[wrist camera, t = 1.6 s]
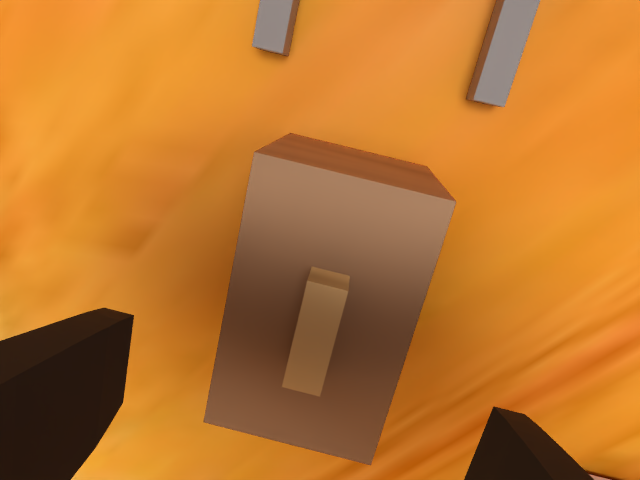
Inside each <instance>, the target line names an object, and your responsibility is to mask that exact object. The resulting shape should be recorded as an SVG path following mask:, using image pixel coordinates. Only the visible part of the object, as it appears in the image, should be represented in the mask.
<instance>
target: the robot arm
mask: <svg viewBox="0 0 640 480" xmlns="http://www.w3.org/2000/svg"><path fill="white" fill-rule="evenodd" d="M133 319H134V315H131V314H127V313H123V312H119V311H115V310H111V309H107V308H101V309H97V310H93V311H89V312H86V313H83V314H80V315H77V316H74V317H71V318H68V319H65V320H62V321H59V322H56V323H53V324H50V325H47V326H44V327H41V328H38V329H35V330H32V331H29V332H26V333H23V334H20V335H17V336H14V337H11V338H8V339H5V340H2V341H0V480H71V478H72V477H73V476H74V475H75V473H76V472H77V471H78V470H79V468H80V467H81V466H82V464H83V463H84V462H85V461H86V459H87V458H88V457H89V455H90V454H91V453H92V451H93V450H94V449H95V448H96V446H97V444H98V443H99V441H100V440H101V438H102V436H103V435H104V433H105V432H106V430H107V428H108V427H109V425H110V423H111V422H112V420H113V418H114V417H115V415H116V413H117V412H118V410H119V408H120V407H121V405H122V403H123V398H124V390H125V382H126V374H127V366H128V358H129V350H130V342H131V334H132V327H133ZM464 480H610V479H606V478H602V477H598V476H594V475H590V474H588V473H587V472H586V471H585V470H584V469H583V468H582V467H581V466H580V465H579V464H578V463H577V462H576V461H575V460H574V459H573V458H572V457H571V456H570V455H568V454H567V453H566V452H565V451H564V450H563V449H562V448H561V447H560V446H559V445H558V444H557V443H556V442H555V441H554V440H553V439H552V438H551V437H550V436H549V435H548V434H547V433H546V432H545V431H543V430H542V429H541V428H540V427H539V426H538V425H537V424H536V423H535V422H533V421H532V420H531V419H530V418H529V417H527V416H526V415H525V414H521V413H517V412H513V411H509V410H505V409H501V408H497V407H493V409H492V412H491V414H490V417H489V419H488V422H487V424H486V427H485V429H484V432H483V434H482V437H481V439H480V442H479V444H478V447H477V449H476V452H475V454H474V456H473V459H472V461H471V464H470V466H469V469H468V471H467V474H466V476H465V479H464Z"/></svg>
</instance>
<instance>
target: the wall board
mask: <svg viewBox="0 0 640 480" xmlns="http://www.w3.org/2000/svg"><path fill="white" fill-rule="evenodd" d="M539 2H540V0H496V4H495V7H494V10H493V13H492V16H491V20H490V23H489V26H488V29H487V33H486V36H485V39H484V42H483V45H482V49H481V52H480V55H479V58H478V62H477V65H476V68H475V71H474V74H473V78H472V81H471V84H470V87H469V91H468V94H467V97H466V99H467V100H471V101H476V102H480V103H484V104H488V105H492V106H498V107H505V104H506V101H507V98H508V95H509V92H510V89H511V86H512V83H513V80H514V77H515V74H516V71H517V68H518V65H519V62H520V59H521V56H522V53H523V50H524V47H525V44H526V41H527V38H528V35H529V32H530V29H531V26H532V23H533V20H534V17H535V14H536V11H537V8H538V5H539ZM298 5H299V0H260V4H259V10H258V15H257V21H256V27H255V33H254V38H253V44H252V46H253V47H255V48H258V49H260V50H264V51H269V52H273V53H277V54H281V55H285V56H289V50H290V45H291V40H292V35H293V30H294V25H295V20H296V15H297V10H298Z"/></svg>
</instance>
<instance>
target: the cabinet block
mask: <svg viewBox="0 0 640 480" xmlns="http://www.w3.org/2000/svg"><path fill="white" fill-rule="evenodd" d="M455 204H456V201H455V199H454V198H453V197H452V196H451V195H450V193H449V192H448V191H447V190H446V189H445V188H444V186H443V185H442V184H441V183H440V182H439V180H438V179H437V178H436V177H435V176H434V174H433V173H432V172H431V171H430V170H429V168H428V167H427V166H423V165H419V164H415V163H411V162H406V161H402V160H398V159H394V158H390V157H386V156H382V155H378V154H374V153H370V152H366V151H361V150H357V149H353V148H349V147H345V146H341V145H337V144H333V143H329V142H325V141H321V140H316V139H312V138H308V137H304V136H300V135H296V134H292V133H290V134H288V135H286V136H284V137H282V138H280V139H278V140H276V141H274V142H272V143H271V144H269V145H267V146H265V147H263V148H261V149H259V150H257V151H255V152H254V156H253V161H252V166H251V172H250V177H249V182H248V188H247V193H246V198H245V204H244V209H243V214H242V220H241V225H240V230H239V236H238V241H237V246H236V252H235V257H234V262H233V268H232V273H231V278H230V284H229V289H228V294H227V300H226V305H225V310H224V316H223V321H222V326H221V332H220V337H219V342H218V348H217V353H216V358H215V364H214V369H213V374H212V380H211V385H210V390H209V396H208V401H207V406H206V412H205V417H204V422H205V423H209V424H213V425H217V426H220V427H224V428H228V429H232V430H236V431H240V432H244V433H248V434H251V435H255V436H259V437H263V438H267V439H271V440H275V441H279V442H283V443H286V444H290V445H294V446H298V447H302V448H306V449H310V450H314V451H317V452H321V453H325V454H329V455H333V456H337V457H341V458H345V459H349V460H352V461H356V462H360V463H364V464H368V465H371V463H372V460H373V457H374V454H375V451H376V448H377V445H378V442H379V438H380V435H381V432H382V429H383V426H384V423H385V420H386V417H387V414H388V411H389V408H390V405H391V401H392V398H393V395H394V392H395V389H396V386H397V383H398V380H399V377H400V374H401V371H402V368H403V365H404V361H405V358H406V355H407V352H408V349H409V346H410V343H411V340H412V337H413V334H414V331H415V328H416V324H417V321H418V318H419V315H420V312H421V309H422V306H423V303H424V300H425V297H426V294H427V291H428V288H429V284H430V281H431V278H432V275H433V272H434V269H435V266H436V263H437V260H438V257H439V254H440V251H441V247H442V244H443V241H444V238H445V235H446V232H447V229H448V226H449V223H450V220H451V217H452V214H453V210H454V207H455Z"/></svg>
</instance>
